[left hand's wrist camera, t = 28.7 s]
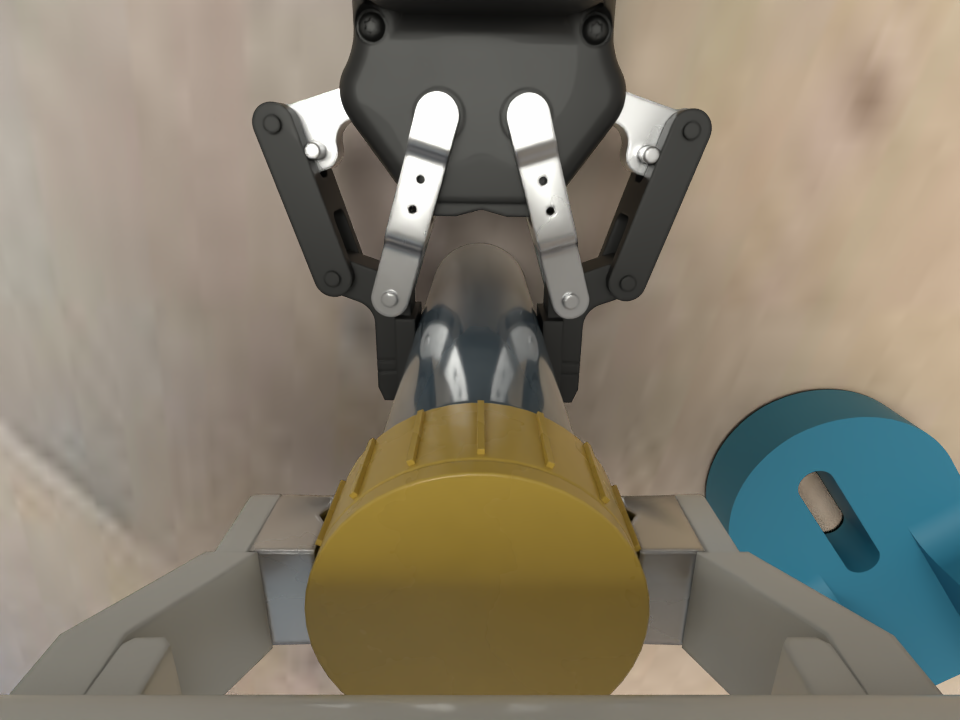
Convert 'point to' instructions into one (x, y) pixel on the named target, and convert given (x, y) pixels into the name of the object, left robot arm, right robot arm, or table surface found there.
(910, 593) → the camera mount
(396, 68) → the right robot arm
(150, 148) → the table surface
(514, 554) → the lid
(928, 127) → the table surface
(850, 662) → the left robot arm
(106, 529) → the table surface
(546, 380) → the grey long cylinder
